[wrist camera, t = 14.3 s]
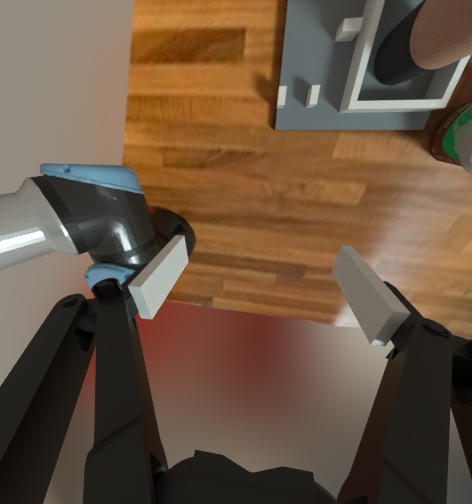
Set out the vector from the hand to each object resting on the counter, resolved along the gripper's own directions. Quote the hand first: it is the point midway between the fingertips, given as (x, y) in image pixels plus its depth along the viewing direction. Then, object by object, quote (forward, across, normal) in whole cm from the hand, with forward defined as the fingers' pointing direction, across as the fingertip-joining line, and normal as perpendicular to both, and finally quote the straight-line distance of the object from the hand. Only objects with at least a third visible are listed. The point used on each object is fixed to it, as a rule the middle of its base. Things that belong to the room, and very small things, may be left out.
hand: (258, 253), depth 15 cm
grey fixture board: (+31, +15, +20) cm, 40 cm away
